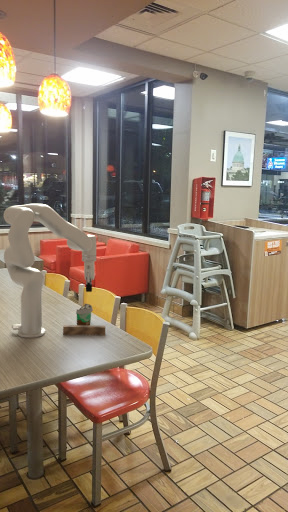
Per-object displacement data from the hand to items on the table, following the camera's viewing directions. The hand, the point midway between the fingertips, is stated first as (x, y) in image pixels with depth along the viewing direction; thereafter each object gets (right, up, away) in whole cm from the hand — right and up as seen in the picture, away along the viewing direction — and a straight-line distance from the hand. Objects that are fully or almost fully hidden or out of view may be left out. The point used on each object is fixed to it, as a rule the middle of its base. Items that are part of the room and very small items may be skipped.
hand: (88, 291), depth 211 cm
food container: (0, -17, -11) cm, 20 cm away
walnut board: (+1, -19, -23) cm, 29 cm away
